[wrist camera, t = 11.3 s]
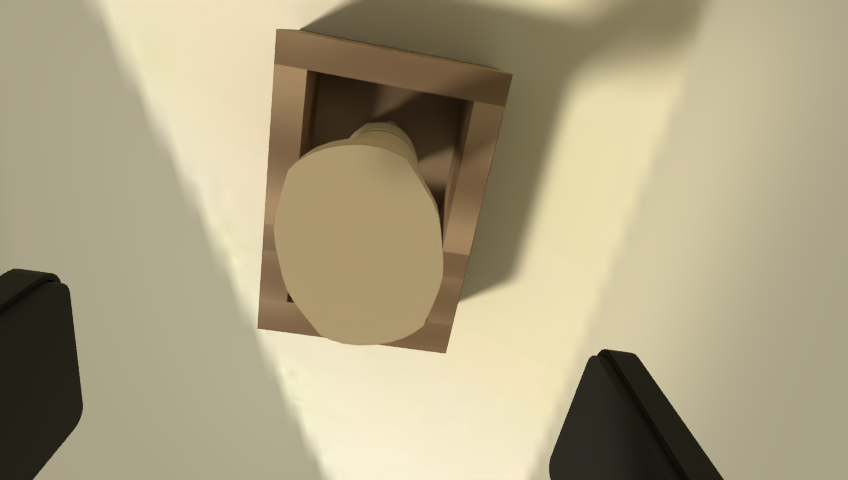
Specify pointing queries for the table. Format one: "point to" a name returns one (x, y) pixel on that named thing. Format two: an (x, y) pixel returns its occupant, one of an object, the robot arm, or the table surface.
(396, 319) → the handle
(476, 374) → the table surface
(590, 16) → the table surface
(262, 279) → the socket block
